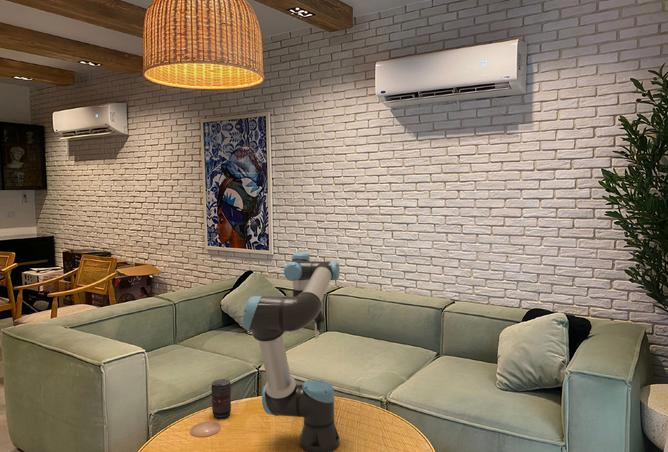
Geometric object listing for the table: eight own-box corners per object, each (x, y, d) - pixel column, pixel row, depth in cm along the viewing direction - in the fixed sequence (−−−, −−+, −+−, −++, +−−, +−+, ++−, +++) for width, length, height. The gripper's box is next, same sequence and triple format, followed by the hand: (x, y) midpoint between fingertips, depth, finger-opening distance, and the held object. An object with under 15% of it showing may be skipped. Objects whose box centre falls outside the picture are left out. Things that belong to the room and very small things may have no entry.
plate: (225, 431, 200) (225, 429, 200) (195, 440, 194) (195, 438, 194) (214, 420, 210) (214, 418, 210) (186, 428, 204) (186, 426, 204)
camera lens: (229, 420, 210) (228, 385, 209) (210, 420, 210) (208, 385, 209) (233, 411, 218) (232, 378, 217) (215, 412, 218) (214, 378, 217)
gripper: (331, 288, 216) (332, 336, 218) (279, 285, 225) (280, 331, 226) (325, 291, 209) (326, 341, 211) (271, 288, 218) (273, 336, 219)
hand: (302, 336), depth 219 cm, fingers open, 13 cm apart
